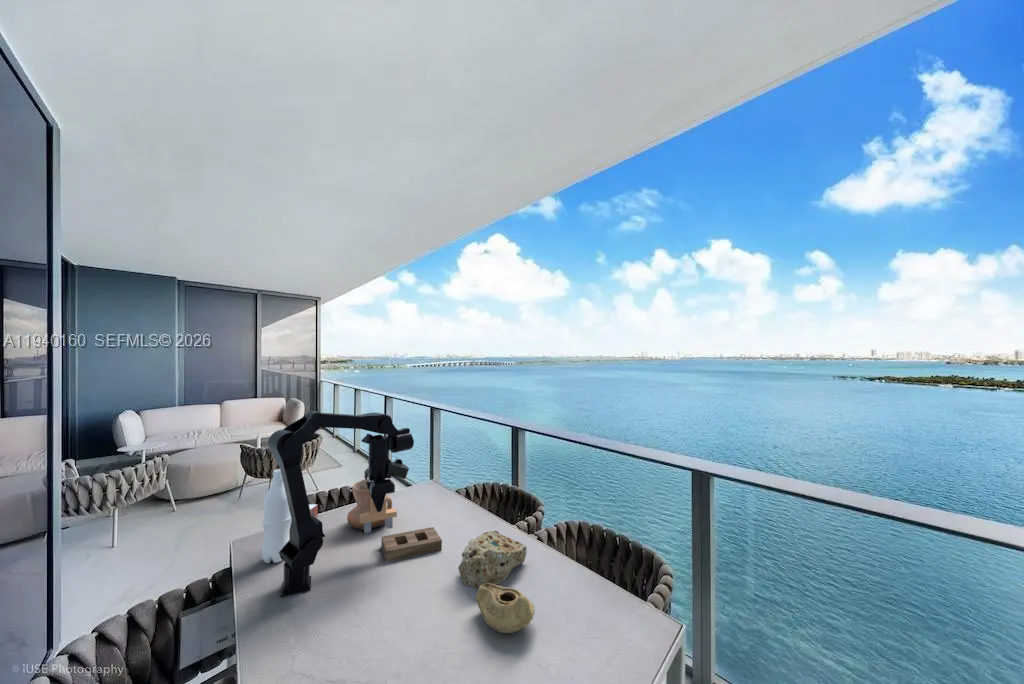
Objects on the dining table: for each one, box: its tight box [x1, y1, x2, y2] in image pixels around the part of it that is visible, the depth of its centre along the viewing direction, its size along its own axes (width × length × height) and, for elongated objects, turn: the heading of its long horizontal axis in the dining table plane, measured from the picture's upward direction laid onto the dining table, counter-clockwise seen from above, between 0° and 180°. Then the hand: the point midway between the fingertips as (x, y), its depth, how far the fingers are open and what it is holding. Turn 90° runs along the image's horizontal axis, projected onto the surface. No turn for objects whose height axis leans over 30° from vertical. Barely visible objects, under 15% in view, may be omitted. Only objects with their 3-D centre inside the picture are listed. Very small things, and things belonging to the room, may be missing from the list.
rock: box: [457, 530, 528, 589], centre depth 104 cm, size 21×14×10 cm
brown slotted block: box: [380, 526, 443, 563], centre depth 116 cm, size 10×16×3 cm, turn 116°
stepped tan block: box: [360, 498, 398, 534], centre depth 112 cm, size 3×10×8 cm, turn 117°
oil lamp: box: [475, 583, 536, 634], centre depth 83 cm, size 11×15×8 cm
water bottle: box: [261, 468, 291, 564], centre depth 110 cm, size 7×7×25 cm
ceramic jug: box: [346, 478, 393, 530], centre depth 133 cm, size 18×14×14 cm
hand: (378, 509), depth 112 cm, fingers closed on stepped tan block, 3 cm apart
